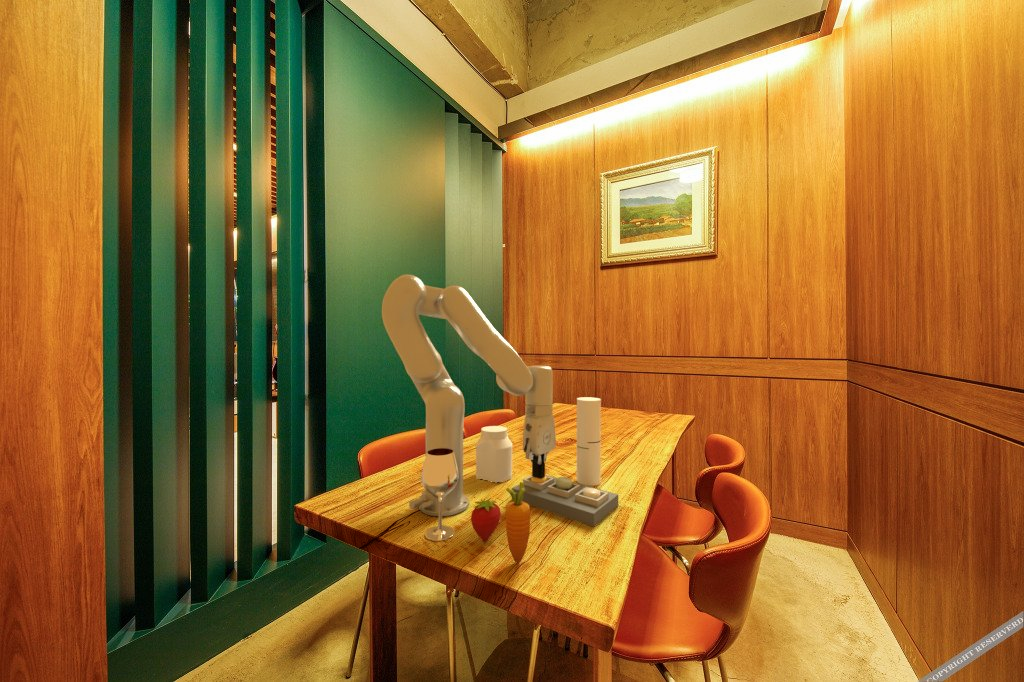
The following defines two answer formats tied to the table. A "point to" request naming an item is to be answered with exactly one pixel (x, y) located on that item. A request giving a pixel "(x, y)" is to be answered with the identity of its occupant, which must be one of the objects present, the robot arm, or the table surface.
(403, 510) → the table surface
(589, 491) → the cream button
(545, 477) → the amber button
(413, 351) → the robot arm
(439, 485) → the wineglass
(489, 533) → the strawberry
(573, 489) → the button panel
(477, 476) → the jar
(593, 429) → the cylindrical container
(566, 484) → the sage button
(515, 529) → the carrot
